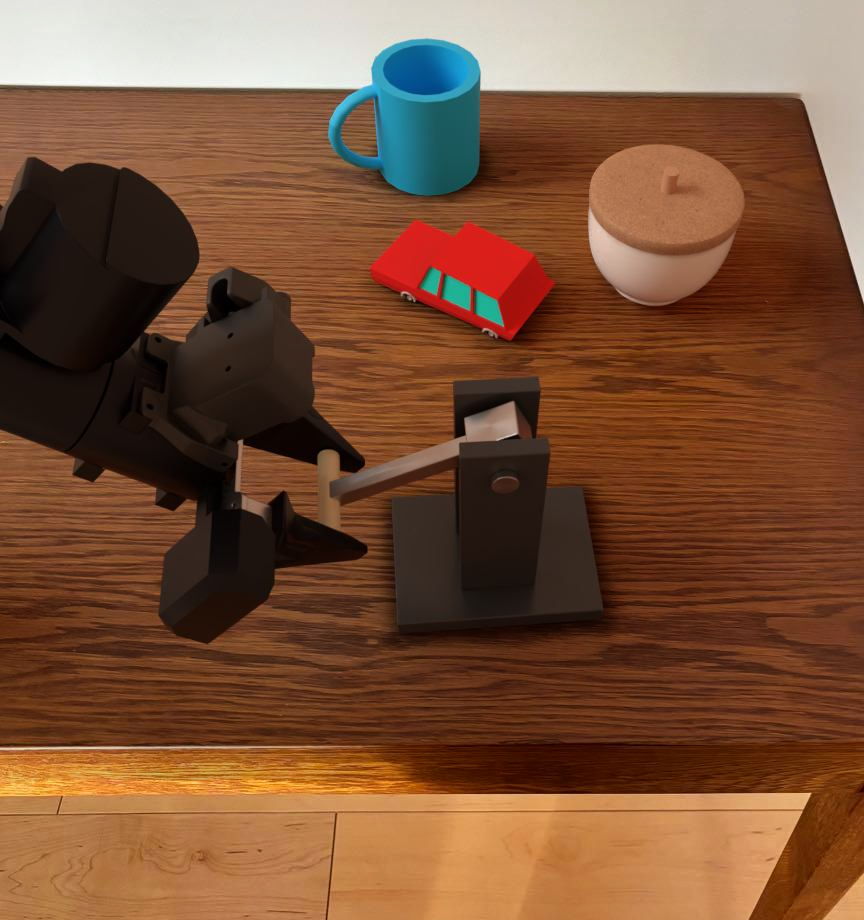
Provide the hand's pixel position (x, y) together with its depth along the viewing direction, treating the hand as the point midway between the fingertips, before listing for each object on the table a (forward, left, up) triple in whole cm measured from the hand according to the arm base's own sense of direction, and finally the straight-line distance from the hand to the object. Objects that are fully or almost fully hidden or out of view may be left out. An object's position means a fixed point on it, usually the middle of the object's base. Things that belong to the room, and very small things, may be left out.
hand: (362, 509), depth 56 cm
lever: (+4, 0, +2) cm, 5 cm away
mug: (0, +38, -7) cm, 39 cm away
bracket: (+7, +1, -6) cm, 10 cm away
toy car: (+5, +24, -7) cm, 26 cm away
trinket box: (+19, +26, -7) cm, 33 cm away
